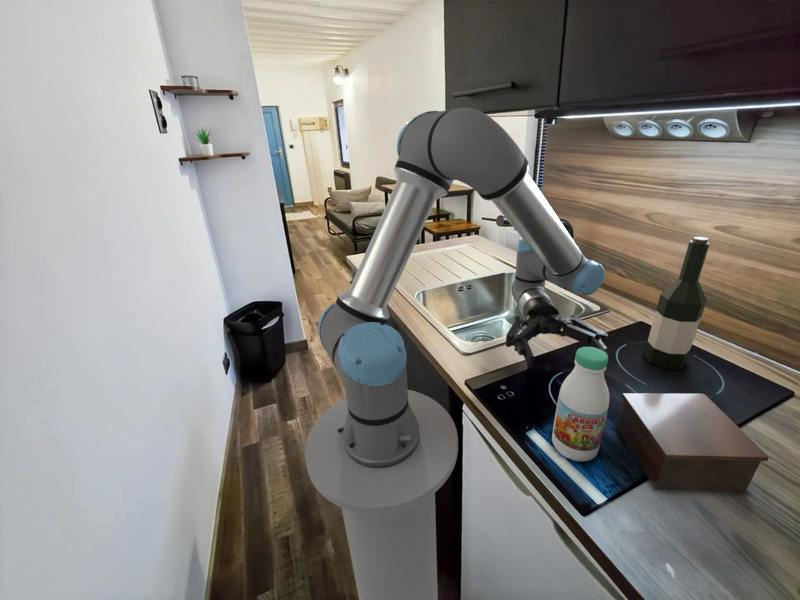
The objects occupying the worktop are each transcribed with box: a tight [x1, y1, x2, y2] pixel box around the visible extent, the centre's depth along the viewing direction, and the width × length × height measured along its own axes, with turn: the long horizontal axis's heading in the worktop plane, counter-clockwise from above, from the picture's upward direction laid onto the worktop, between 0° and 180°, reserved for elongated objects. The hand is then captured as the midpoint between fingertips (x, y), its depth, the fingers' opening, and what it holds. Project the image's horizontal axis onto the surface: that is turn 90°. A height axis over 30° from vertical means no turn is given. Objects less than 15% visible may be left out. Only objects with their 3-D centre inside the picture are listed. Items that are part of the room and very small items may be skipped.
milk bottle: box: [551, 346, 610, 462], centre depth 62 cm, size 8×8×20 cm
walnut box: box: [616, 392, 770, 493], centre depth 61 cm, size 14×14×8 cm
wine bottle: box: [643, 236, 711, 370], centre depth 81 cm, size 8×8×30 cm
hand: (568, 362), depth 68 cm, fingers open, 13 cm apart
